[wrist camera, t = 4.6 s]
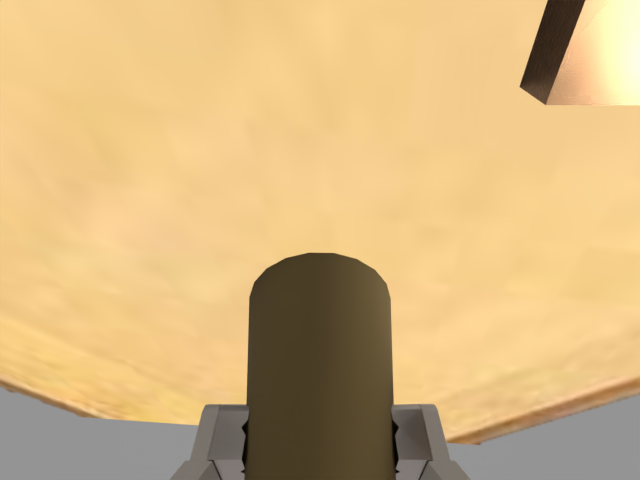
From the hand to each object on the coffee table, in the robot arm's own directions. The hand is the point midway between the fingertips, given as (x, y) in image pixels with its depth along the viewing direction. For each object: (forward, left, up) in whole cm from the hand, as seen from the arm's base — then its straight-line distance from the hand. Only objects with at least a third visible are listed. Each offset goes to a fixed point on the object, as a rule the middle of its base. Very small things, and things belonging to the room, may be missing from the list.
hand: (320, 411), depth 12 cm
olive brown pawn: (0, 0, -5) cm, 5 cm away
